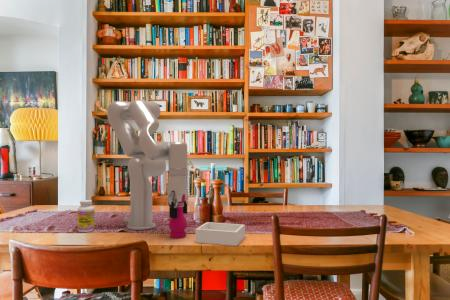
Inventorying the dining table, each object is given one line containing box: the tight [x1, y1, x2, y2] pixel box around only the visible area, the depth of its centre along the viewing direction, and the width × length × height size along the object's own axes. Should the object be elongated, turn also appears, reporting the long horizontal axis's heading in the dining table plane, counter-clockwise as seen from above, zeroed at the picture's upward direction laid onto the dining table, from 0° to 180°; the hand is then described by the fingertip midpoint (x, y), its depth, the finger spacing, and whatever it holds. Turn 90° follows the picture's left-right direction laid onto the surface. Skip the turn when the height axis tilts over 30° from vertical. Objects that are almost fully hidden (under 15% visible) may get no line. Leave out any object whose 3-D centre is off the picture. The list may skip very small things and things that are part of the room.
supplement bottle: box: [77, 199, 95, 233], centre depth 153 cm, size 7×7×13 cm
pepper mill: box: [168, 194, 188, 239], centre depth 145 cm, size 7×7×20 cm
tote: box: [194, 221, 246, 247], centre depth 140 cm, size 16×13×5 cm
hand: (178, 215), depth 144 cm, fingers open, 9 cm apart
